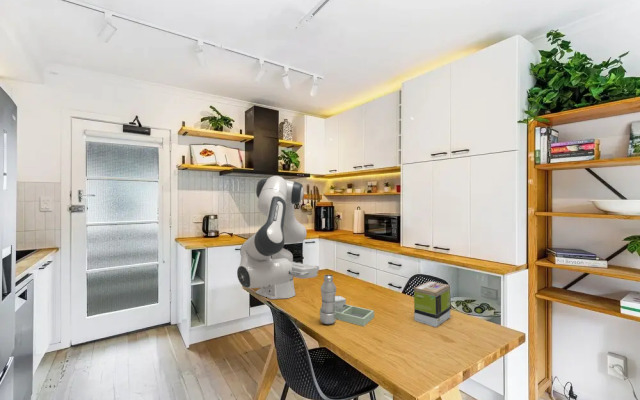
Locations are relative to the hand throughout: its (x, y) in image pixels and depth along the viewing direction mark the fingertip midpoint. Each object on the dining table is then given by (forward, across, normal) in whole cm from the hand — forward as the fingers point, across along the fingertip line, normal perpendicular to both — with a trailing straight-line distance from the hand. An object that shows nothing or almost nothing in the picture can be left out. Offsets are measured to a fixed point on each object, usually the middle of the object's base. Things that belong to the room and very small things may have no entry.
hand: (309, 266), depth 117 cm
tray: (+23, 0, +25) cm, 34 cm away
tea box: (+48, -28, +25) cm, 61 cm away
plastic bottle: (+12, +1, +25) cm, 28 cm away
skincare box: (+22, +5, +25) cm, 34 cm away
